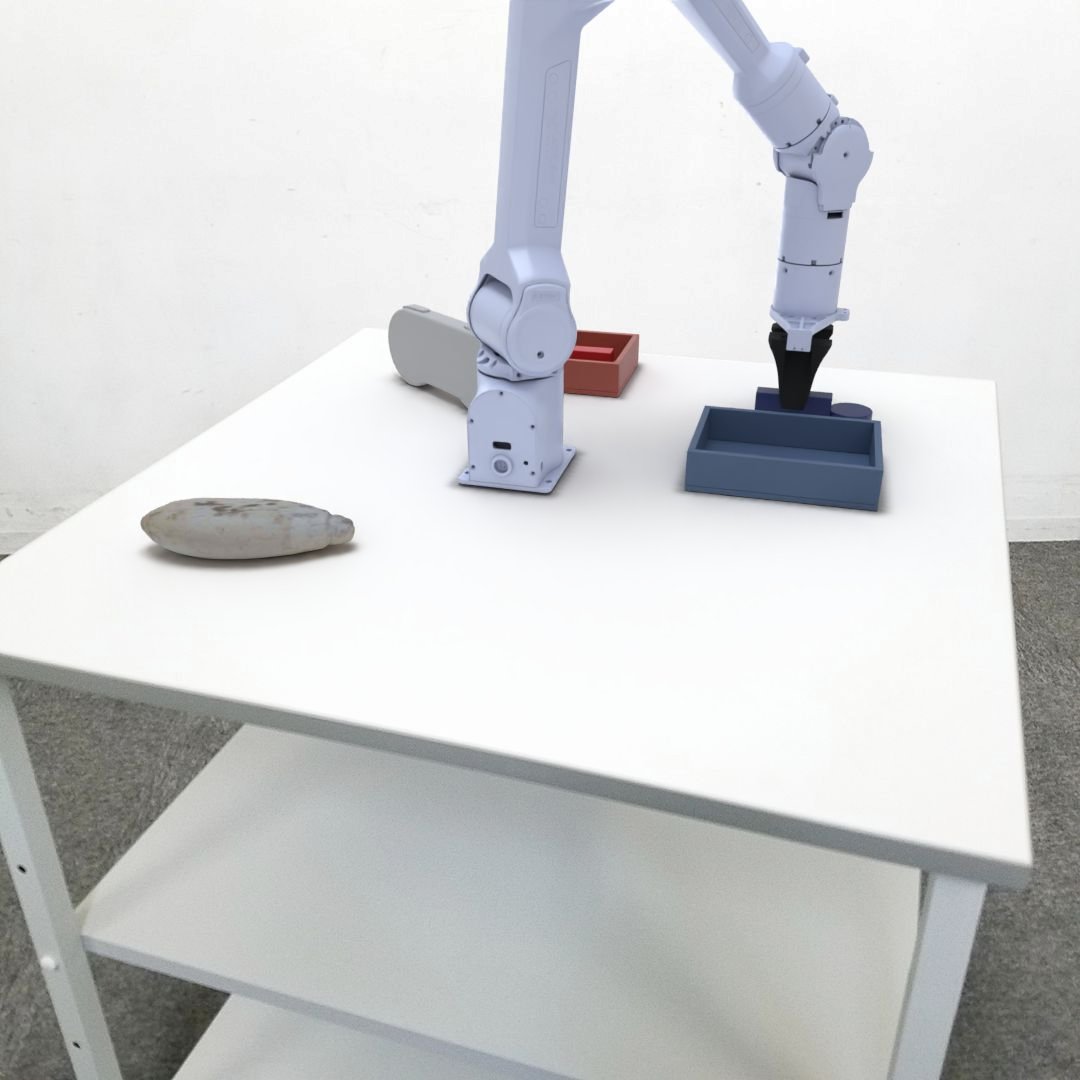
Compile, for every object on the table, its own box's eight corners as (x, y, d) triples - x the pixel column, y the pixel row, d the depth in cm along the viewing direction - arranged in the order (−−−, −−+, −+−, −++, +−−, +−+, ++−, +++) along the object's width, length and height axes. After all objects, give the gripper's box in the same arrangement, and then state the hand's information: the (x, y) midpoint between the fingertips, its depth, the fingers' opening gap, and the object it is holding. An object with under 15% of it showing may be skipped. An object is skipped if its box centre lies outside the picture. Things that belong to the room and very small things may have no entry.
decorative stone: (351, 564, 74) (347, 522, 72) (131, 570, 73) (122, 526, 71) (360, 526, 79) (357, 486, 78) (155, 531, 78) (147, 490, 77)
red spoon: (615, 368, 112) (616, 345, 111) (607, 380, 109) (608, 356, 107) (519, 361, 114) (519, 338, 113) (509, 372, 111) (508, 348, 110)
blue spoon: (752, 422, 98) (755, 395, 97) (756, 408, 101) (758, 382, 100) (870, 432, 95) (875, 406, 94) (870, 418, 99) (874, 392, 98)
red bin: (618, 397, 105) (619, 364, 104) (476, 385, 109) (475, 352, 107) (638, 364, 115) (639, 334, 113) (507, 354, 118) (506, 324, 117)
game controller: (518, 420, 99) (517, 336, 96) (499, 426, 98) (497, 340, 94) (407, 371, 113) (403, 296, 109) (389, 376, 111) (384, 299, 108)
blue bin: (877, 511, 81) (883, 470, 80) (684, 490, 85) (687, 451, 83) (875, 458, 91) (881, 420, 89) (701, 441, 94) (704, 405, 93)
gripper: (856, 280, 85) (834, 435, 91) (856, 245, 97) (837, 384, 103) (769, 275, 87) (753, 427, 93) (780, 241, 99) (766, 378, 105)
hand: (793, 404), depth 98 cm, fingers closed on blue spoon, 2 cm apart
